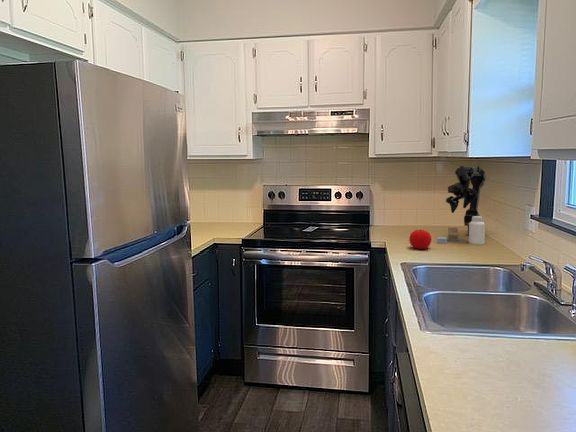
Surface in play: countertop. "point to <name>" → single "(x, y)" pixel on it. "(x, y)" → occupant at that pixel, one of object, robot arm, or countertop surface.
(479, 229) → the pill bottle
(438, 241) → the pale grey cube
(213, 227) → the countertop surface
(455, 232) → the tower top
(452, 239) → the tower base
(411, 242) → the tomato
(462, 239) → the mat
